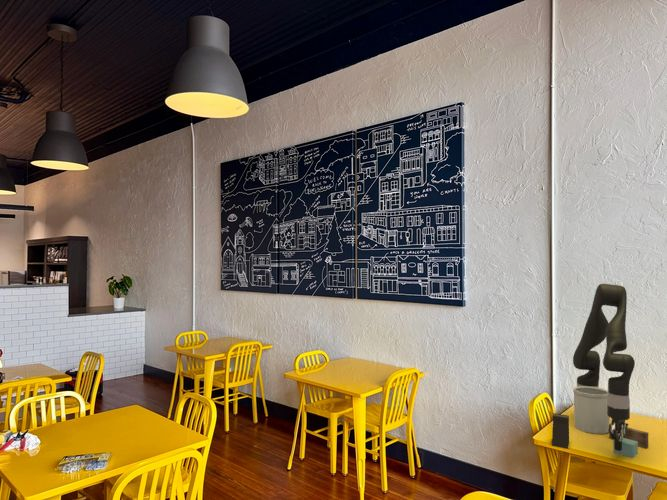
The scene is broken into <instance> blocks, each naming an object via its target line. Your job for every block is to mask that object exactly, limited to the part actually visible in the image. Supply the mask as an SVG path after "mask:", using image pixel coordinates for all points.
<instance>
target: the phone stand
mask: <svg viewBox="0 0 667 500" xmlns="http://www.w3.org/2000/svg"><path fill="white" fill-rule="evenodd" d="M551 435H552V436H551V437H552V439H551V442H552V443H551V446H552V447H558V448H562V449H569V445H570V415H568V414H561V413H554V412H553V413H552V434H551Z"/></svg>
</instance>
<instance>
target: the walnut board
mask: <svg viewBox="0 0 667 500" xmlns="http://www.w3.org/2000/svg"><path fill="white" fill-rule="evenodd" d="M609 428H612V427H611V423H609ZM608 439H610V440H613V439H612V438H611V436H610V433H609V432H608ZM625 439H629V440H633V441H637V442H638V448H643V449H646V450H647V449H648V448H649V432H646V431H643V430H638V429H635V428H632V427H627V431H626V434H625Z"/></svg>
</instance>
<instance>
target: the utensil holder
mask: <svg viewBox="0 0 667 500" xmlns="http://www.w3.org/2000/svg"><path fill="white" fill-rule="evenodd" d="M572 392H573V407H574V408H573V411H574V412H573V413H574V428H576V429H577V430H579V431H582V432H585V433H589V434H593V435H594V434H596V435H597V434H598V435H604V434H607V433H608V434H609V430H608V429H609V424H610V419H611V417H609V416H608V415H607V397H608V389H605V388H601V387H599V388H597V387H589V386H579V387H577V386H575V387H573V389H572Z"/></svg>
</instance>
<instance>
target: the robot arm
mask: <svg viewBox="0 0 667 500" xmlns="http://www.w3.org/2000/svg"><path fill="white" fill-rule="evenodd" d="M627 294H628V293H627V290H626V288H625V286H623V285H619V284H617V285H616V284H610V283H600V284H598V285H597V287H596V289H595V293H594V296H593V301H592V306H591V309H590V312H589V315H588V317H587V320H586V323H585V326H584V328H583V332H582V335H581V338H580V341H579V343H578V345H577V347H576V349H575V351H574V353H573V357H572V364H573V367H575V368H576V369H577V370H580V371H581V370H583V371H587V372H586V373H584V374H581V375H578V376H577V377H576V387H579V386H589V387H597V388H600V387H599V386H600V385H599V383H600V369H601V356H600V354H599V353H598V352H597V351H596V350H593V349H594V348H596V347H597V346H599V345H601V343H602V342H604V341H605V340H606V342H605V343H606V348H605V352H604V356H603V360H602V366H603V367H604V369H605V370H607V371H609V372H616V373H622V374H621V375H620V376H613V377H612V376H611V377H609V378H608V380H607V391H608V397H607V415H608V416H609V417H610V419H611V421H610V424H611V427H612V428H609V429H608V430H609V432H608V434H609V433H610V436H611V438H612V439H611V440H614V449H615V450H618V451H621V450H622V441H623V438H625V434H626V431H627V427H628V426H629V424H628V423H627V422H626V421H628V420H631V419H630V418H631V417H630V416H631V405H630V404H631V401H630V400H631V399H630V381H631V377H632V374H633V372H634V369H635V364H636V363H635V362H636V361H635V359H634V357H633V356H632V355H630V354H627V353H626V354H625V353H619V352H622V351H626V350H627V348H628V341H627V332H626V323H627V322H626V319H627V306H628V305H627V303H628V299H627V297H628V296H627ZM603 306H609V307H616V313H615V314H614V316H613V317H612V319H610V321H609V320H608V319H607V317H606V315H605V314H604V312H603V309H602V308H603ZM617 352H618V353H617ZM628 428H629V427H628Z"/></svg>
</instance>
